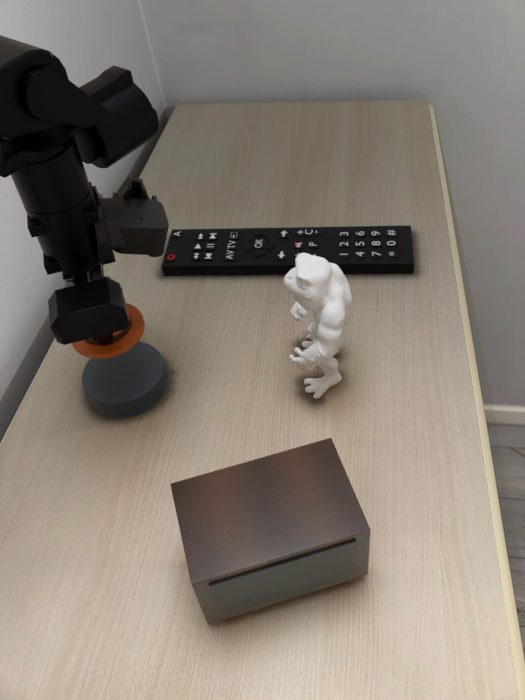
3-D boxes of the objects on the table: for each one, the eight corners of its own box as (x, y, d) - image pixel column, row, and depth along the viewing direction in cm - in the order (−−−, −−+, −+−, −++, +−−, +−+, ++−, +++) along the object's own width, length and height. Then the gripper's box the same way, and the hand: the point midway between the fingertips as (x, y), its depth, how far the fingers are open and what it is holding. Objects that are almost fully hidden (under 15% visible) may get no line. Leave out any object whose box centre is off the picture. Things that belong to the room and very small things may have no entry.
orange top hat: (74, 367, 66) (58, 331, 62) (68, 316, 71) (53, 280, 67) (150, 347, 67) (139, 311, 63) (139, 298, 72) (128, 261, 68)
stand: (92, 427, 72) (85, 412, 70) (84, 367, 78) (78, 352, 76) (174, 404, 73) (170, 390, 71) (160, 347, 79) (156, 332, 77)
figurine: (356, 405, 70) (358, 301, 59) (293, 409, 71) (282, 306, 60) (347, 331, 78) (347, 225, 67) (290, 334, 78) (280, 230, 67)
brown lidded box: (210, 632, 56) (191, 587, 49) (188, 534, 62) (170, 483, 56) (368, 582, 58) (371, 532, 51) (332, 492, 64) (331, 437, 57)
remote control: (172, 238, 92) (169, 226, 91) (409, 234, 88) (410, 222, 87) (161, 275, 87) (158, 263, 86) (413, 273, 83) (414, 261, 82)
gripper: (169, 235, 51) (201, 370, 63) (135, 121, 64) (167, 251, 75) (22, 271, 50) (82, 401, 61) (17, 147, 62) (67, 275, 74)
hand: (104, 324), depth 68 cm, fingers closed on orange top hat, 5 cm apart
